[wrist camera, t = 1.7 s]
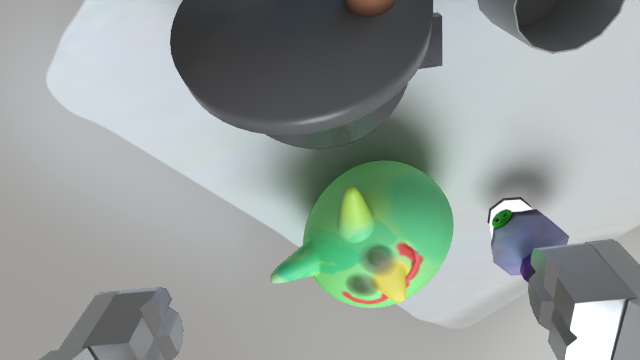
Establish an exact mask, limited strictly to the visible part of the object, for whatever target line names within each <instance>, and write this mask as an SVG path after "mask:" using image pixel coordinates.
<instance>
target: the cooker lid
mask: <svg viewBox="0 0 640 360" xmlns="http://www.w3.org/2000/svg"><path fill="white" fill-rule="evenodd" d="M432 17H433V0H183V1H182V3H181V4H180V6H179V8H178V10H177V13H176V15H175V18H174V21H173V25H172V29H171V38H170V46H171V55H172V58H173V61H174V64H175V67H176V69H177V70H178V72H179V74H180V76H181V78H182V79H183V81H184V82H185V84H186V86H187V87H188V89H189V90H190V92H191V93H192V95H193V96H194V97H195V99H196V100H197V101H198V102H199V104H200V105H201V106H202V107H204V108H205V109H206V110H207V111H208V112H209V113H210V114H212V115H214V116H215V117H217V118H218V119H220V120H222V121H223V122H226V123H228V124H230V125H232V126H235V127H237V128H240V129H244V130H248V131H251V132H256V133H262V134H269V135H299V134H309V133H314V132H320V131H325V130H329V129H332V128H335V127H339V126H342V125H345V124H347V123H350V122H352V121H355V120H357V119H359V118H362V117H363V116H365V115H367V114H369V113H371V112H372V111H374V110H376V109H378V108H379V107H381V106H382V105H383V104H385V103H386V102H387V101H389V100H390V99H392V98H393V97H394V96H395V95H396V94H397V93H398V92H399V91H400V90H401V89H402V88H404V87H405V86H406V84H407V83H408V82H409V81H410V79H411V78H412V77H413V76H414V75H415V73H416V71H417V70H418V68H419V66H420V65H421V63H422V61H423V59H424V56H425V54H426V51H427V49H428V45H429V40H430V35H431V26H432Z"/></svg>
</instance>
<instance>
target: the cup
mask: <svg viewBox="0 0 640 360" xmlns="http://www.w3.org/2000/svg"><path fill="white" fill-rule="evenodd" d="M624 2H625V0H478V4H479V9H480V10H481V11H482V13H483V14H484V15H485V16H486V17H487V18H488V19H489V20H490V21H491V22H492V23H493V24H495V25H496V26H498V27H500V28H501V29H503V30H504V31H506V32H508V33H509V34H511V35H512V36H514V37H516V38H517V39H519V40H521V41H522V42H524V43H525V44H527V45H529V46H530V47H532V48H535V49H538V50H542V51H545V52H548V53H552V54H554V53H560V52H566V51H572V50H577V49H579V48H581V47H582V46H584V45H586V44H587V43H589V42H591V41H593V40H594V39H596V38H598V37H599V36H601V35H602V34H603V33H604V31H605V30H606V29H607V28H608V27H609V26H610V24H611V23H612V22H613V21H614V20H615V19H616V17H617V16H618V15H619V14H620V12H621V10H622V7H623V4H624Z"/></svg>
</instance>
